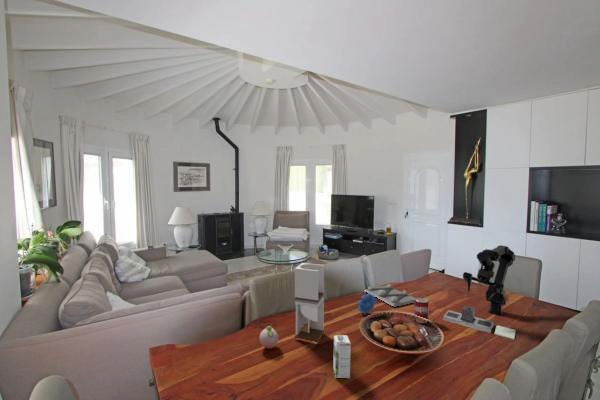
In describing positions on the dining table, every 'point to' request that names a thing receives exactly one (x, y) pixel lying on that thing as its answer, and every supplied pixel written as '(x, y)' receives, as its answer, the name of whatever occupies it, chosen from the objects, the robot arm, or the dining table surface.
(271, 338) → the decorative fruit
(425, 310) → the soda can
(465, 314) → the steel block
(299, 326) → the white dispenser tower
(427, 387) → the dining table surface
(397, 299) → the grey ridged tray
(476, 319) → the rail plate
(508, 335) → the sage pad
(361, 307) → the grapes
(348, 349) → the syrup box
